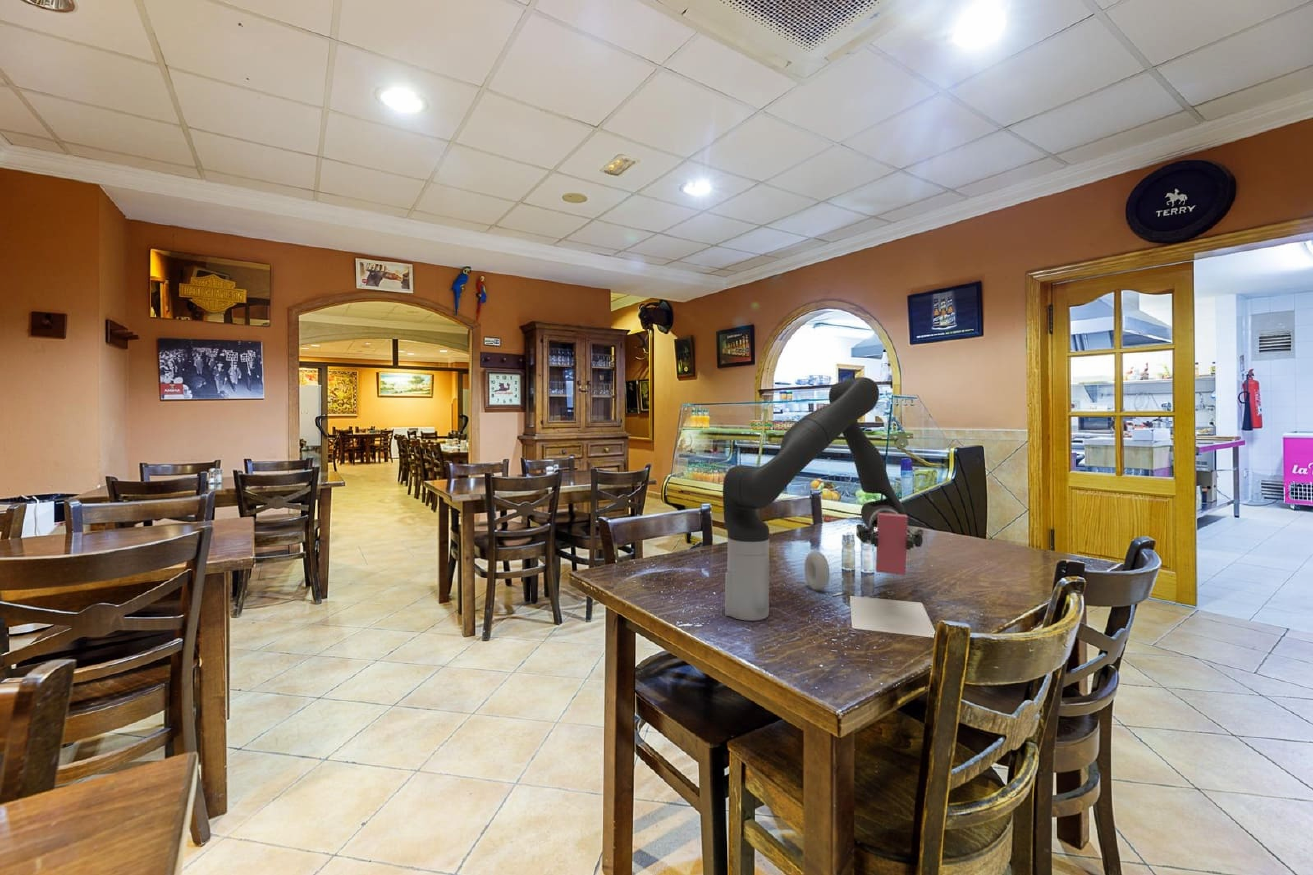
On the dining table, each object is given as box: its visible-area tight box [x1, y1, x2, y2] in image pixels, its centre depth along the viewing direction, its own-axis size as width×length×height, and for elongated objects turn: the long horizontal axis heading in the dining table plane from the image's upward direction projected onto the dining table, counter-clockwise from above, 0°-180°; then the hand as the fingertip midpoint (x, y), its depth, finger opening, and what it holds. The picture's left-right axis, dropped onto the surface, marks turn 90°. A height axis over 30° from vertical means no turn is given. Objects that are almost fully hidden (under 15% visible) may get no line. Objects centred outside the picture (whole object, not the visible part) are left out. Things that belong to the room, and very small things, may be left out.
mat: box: [849, 595, 936, 639], centre depth 120 cm, size 16×22×1 cm
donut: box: [803, 550, 830, 592], centre depth 139 cm, size 10×4×10 cm, turn 9°
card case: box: [875, 513, 909, 576], centre depth 113 cm, size 6×3×12 cm, turn 71°
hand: (892, 543), depth 110 cm, fingers closed on card case, 5 cm apart
